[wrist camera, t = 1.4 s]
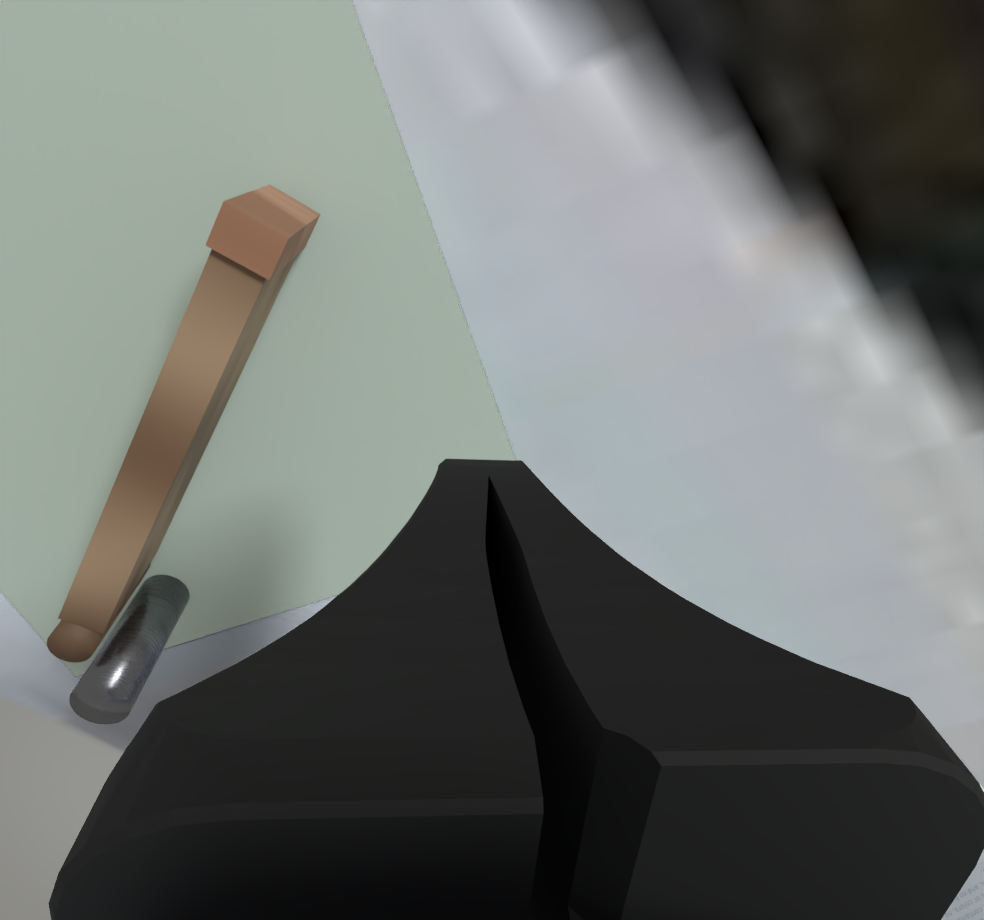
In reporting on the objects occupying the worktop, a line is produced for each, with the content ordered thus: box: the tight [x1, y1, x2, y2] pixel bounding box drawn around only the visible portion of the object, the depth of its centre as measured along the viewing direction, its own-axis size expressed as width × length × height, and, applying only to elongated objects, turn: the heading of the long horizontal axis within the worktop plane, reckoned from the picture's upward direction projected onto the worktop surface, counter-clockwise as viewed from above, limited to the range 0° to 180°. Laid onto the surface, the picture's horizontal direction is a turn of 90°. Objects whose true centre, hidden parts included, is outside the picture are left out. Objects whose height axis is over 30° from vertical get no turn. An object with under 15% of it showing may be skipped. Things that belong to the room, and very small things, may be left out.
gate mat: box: [0, 0, 516, 677], centre depth 19 cm, size 21×18×1 cm
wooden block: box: [47, 184, 321, 663], centre depth 18 cm, size 14×1×4 cm, turn 148°
